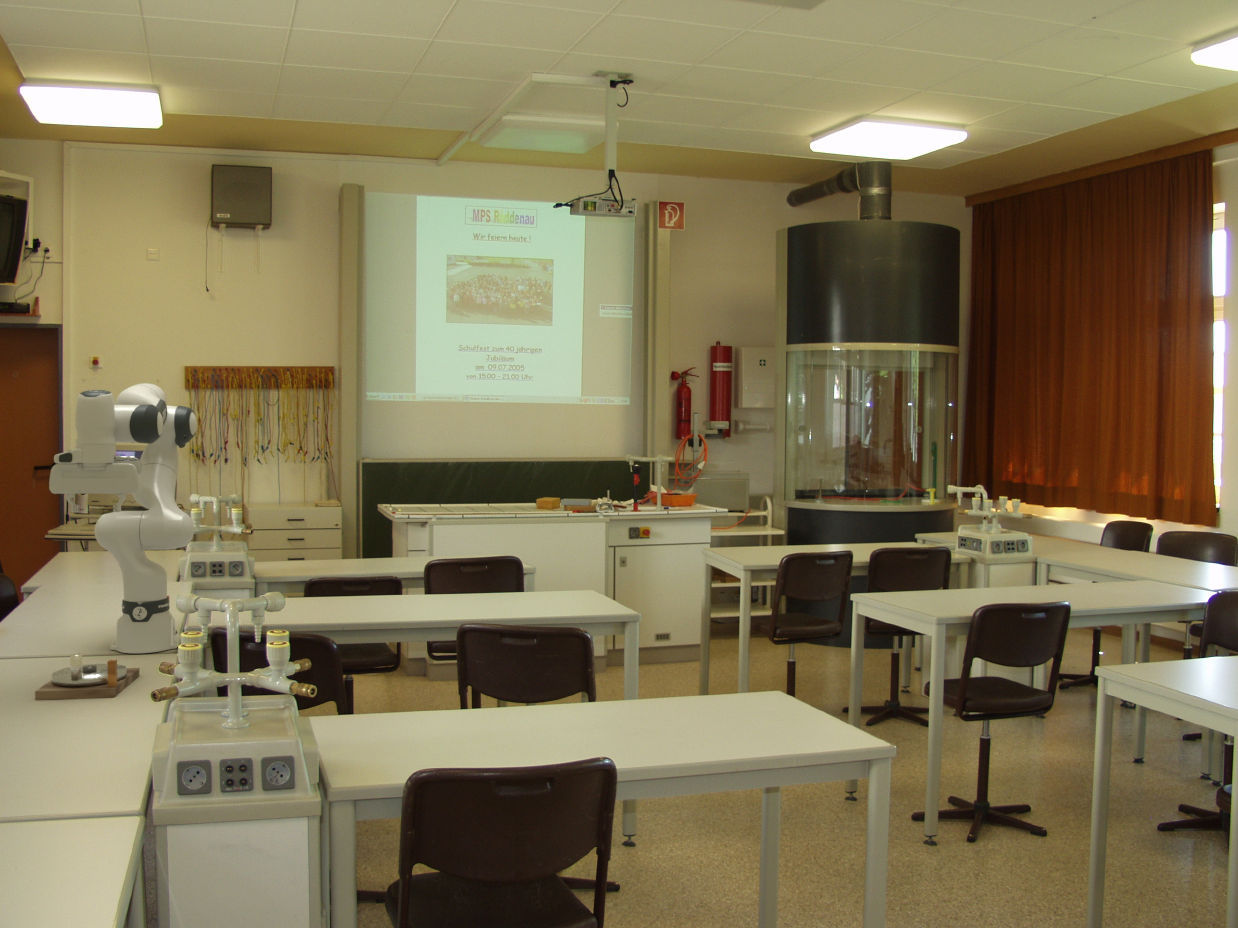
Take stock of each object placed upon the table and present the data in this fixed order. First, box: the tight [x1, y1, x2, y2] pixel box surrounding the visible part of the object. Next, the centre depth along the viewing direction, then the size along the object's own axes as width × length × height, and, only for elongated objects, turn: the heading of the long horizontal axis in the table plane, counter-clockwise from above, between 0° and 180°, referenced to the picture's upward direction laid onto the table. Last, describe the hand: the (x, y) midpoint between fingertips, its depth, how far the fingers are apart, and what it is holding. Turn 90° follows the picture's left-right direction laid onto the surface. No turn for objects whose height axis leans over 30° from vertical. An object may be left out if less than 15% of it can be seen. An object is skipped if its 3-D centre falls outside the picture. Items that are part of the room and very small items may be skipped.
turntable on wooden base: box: [34, 659, 141, 701], centre depth 243 cm, size 20×17×8 cm
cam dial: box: [51, 653, 128, 687], centre depth 243 cm, size 16×16×7 cm
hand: (96, 512), depth 248 cm, fingers open, 8 cm apart
